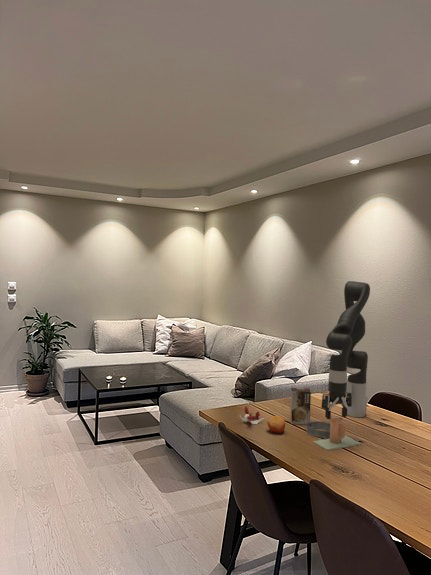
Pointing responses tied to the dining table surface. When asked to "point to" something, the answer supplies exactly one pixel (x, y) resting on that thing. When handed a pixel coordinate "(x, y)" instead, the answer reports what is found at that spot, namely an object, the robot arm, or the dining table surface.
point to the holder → (317, 432)
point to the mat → (330, 446)
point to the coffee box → (300, 405)
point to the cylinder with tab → (336, 430)
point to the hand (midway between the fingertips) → (336, 417)
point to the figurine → (251, 417)
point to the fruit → (276, 424)
